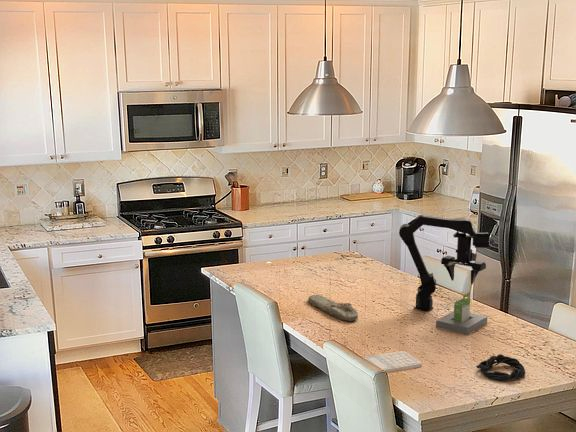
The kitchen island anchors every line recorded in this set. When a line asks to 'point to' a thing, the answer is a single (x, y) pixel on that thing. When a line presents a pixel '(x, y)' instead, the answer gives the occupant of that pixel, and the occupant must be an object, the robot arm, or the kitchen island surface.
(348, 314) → the long grey stone
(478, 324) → the pocket plate
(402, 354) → the calculator
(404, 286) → the kitchen island surface
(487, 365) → the cable
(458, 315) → the ink box
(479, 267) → the robot arm
